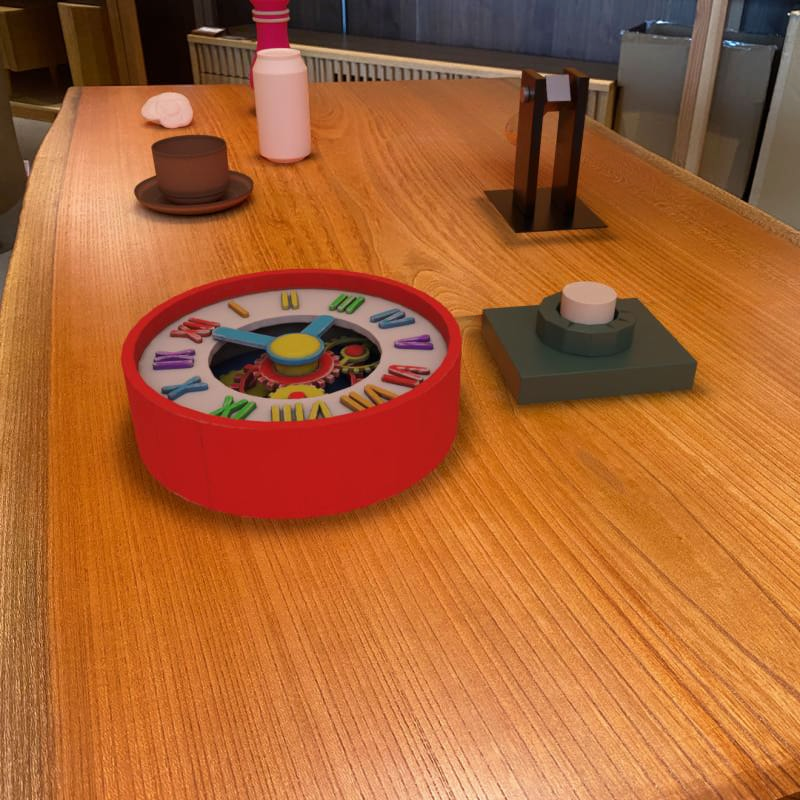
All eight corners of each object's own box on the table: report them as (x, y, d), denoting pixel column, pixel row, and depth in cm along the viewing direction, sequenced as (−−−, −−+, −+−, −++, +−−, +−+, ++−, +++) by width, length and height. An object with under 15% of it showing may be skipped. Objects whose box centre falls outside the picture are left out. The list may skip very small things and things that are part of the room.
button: (602, 302, 59) (605, 279, 58) (621, 325, 56) (625, 301, 55) (552, 305, 59) (555, 282, 58) (570, 329, 56) (573, 305, 55)
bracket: (482, 201, 88) (490, 62, 80) (565, 197, 89) (580, 59, 82) (514, 244, 78) (526, 89, 70) (606, 238, 79) (628, 85, 72)
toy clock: (381, 466, 39) (42, 381, 45) (382, 560, 42) (65, 468, 49) (503, 296, 55) (239, 251, 61) (498, 374, 58) (246, 323, 64)
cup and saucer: (125, 196, 89) (115, 137, 86) (234, 179, 94) (228, 123, 91) (152, 232, 80) (142, 168, 77) (271, 212, 85) (266, 151, 82)
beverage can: (250, 157, 101) (240, 51, 95) (292, 148, 105) (285, 45, 98) (279, 169, 97) (271, 59, 91) (322, 158, 101) (317, 52, 94)
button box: (632, 323, 64) (640, 274, 62) (692, 390, 56) (703, 337, 54) (480, 335, 63) (483, 285, 60) (518, 406, 54) (523, 352, 52)
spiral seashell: (194, 121, 117) (195, 94, 114) (190, 138, 113) (191, 110, 110) (142, 113, 116) (142, 85, 113) (136, 130, 112) (136, 101, 109)
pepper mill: (285, 104, 124) (275, -49, 114) (313, 113, 120) (305, -45, 109) (243, 111, 121) (228, -46, 110) (270, 121, 116) (257, -42, 105)
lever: (502, 153, 88) (499, 118, 88) (535, 151, 89) (532, 117, 89) (540, 108, 75) (537, 68, 75) (579, 106, 76) (575, 67, 76)
